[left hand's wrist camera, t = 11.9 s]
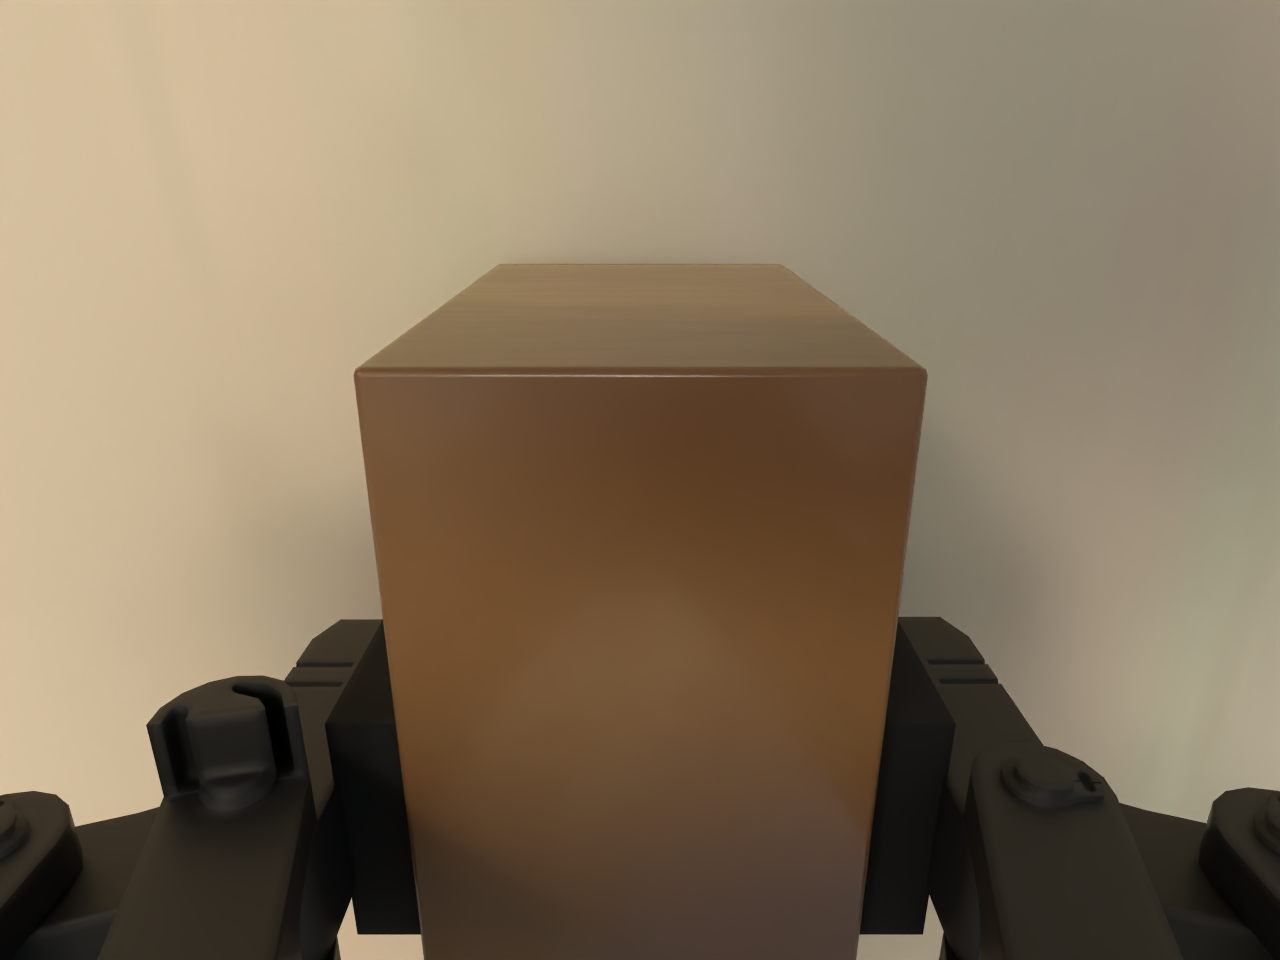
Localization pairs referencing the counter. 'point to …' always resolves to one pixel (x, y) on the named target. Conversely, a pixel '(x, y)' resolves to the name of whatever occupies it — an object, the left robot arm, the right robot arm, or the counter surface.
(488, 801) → the post
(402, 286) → the counter surface
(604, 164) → the counter surface
